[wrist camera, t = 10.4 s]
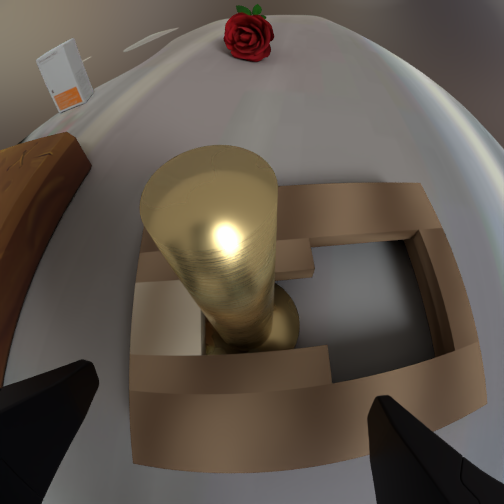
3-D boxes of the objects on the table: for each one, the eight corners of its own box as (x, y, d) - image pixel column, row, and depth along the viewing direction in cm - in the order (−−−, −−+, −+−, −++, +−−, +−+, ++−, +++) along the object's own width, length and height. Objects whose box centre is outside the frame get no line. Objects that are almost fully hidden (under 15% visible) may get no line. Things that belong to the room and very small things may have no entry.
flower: (228, -11, 37) (244, 13, 25) (266, 2, 42) (306, 39, 29) (212, 20, 45) (218, 65, 32) (249, 31, 49) (276, 83, 36)
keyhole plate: (406, 207, 18) (420, 182, 16) (459, 406, 11) (487, 403, 8) (162, 225, 19) (149, 200, 16) (155, 454, 11) (133, 463, 9)
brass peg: (246, 399, 13) (185, 409, 3) (178, 327, 15) (56, 206, 5) (318, 326, 15) (397, 188, 5) (247, 265, 17) (222, 96, 7)
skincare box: (59, 114, 33) (34, 61, 22) (68, 102, 35) (47, 51, 24) (86, 103, 33) (62, 44, 22) (95, 91, 35) (74, 36, 24)
